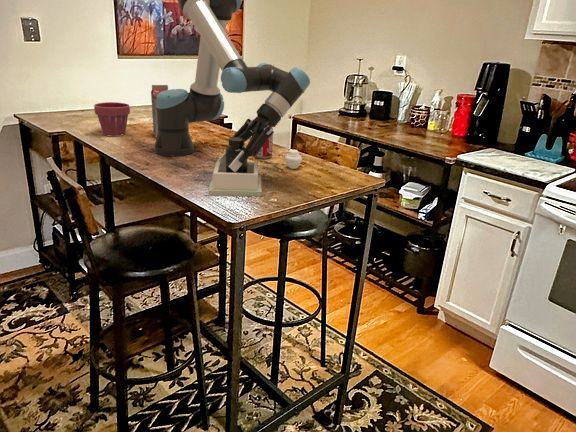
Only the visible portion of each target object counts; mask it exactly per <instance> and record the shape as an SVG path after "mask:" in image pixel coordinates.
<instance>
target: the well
mask: <svg viewBox="0 0 576 432" xmlns="http://www.w3.org/2000/svg"><path fill="white" fill-rule="evenodd" d="M258 164H259V162H258V161H247V173H226V165H225V166H224V165H222V164H221V163H220V162H219V161H218V160H216V163H215V165H214V169H213V172H212V177H211V181H210V185H209V189H208V196H228V197H230V196H231V197H232V196H234V197H235V196H236V197H262V195H263V194H262V190H263V189H262V175H258V174H259V169H258V168H259V167H258V166H259V165H258Z"/></svg>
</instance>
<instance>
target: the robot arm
mask: <svg viewBox="0 0 576 432" xmlns="http://www.w3.org/2000/svg"><path fill="white" fill-rule="evenodd" d="M177 3H178V6H179V8H180V11H181V12H182V14H183V15H184V17H185V18H186V19H189V20H190V21H191V22H192V24H193V26H194V27H195V29H196V32H197V33H198V34H199V36H200V39H199V44H198V45H199V46H198V47H199V48H198V53H197V55H198V56H197V62H196V70H195V71H196V72H195V81H194V82H193V83H191V84H190V85H189V87H190V88H189V92H188V90H186V89H183V88H171V89H168V90H165V91H162V92H160V93H159V94H158V95H157V100H156V107H157V120H158V135H157V138H156V137H155V142H154V153H155V152H156V154H157V153H158V154H157V155H160V154H161V155H160V156H165V155H166V157H176V156H177V157H181V156H187V155H192V154H193V153H194V151H195V145H194V142H193V139H192V137H191V134H190V131H189V130H190V129H189V128H190V126H189V124H193V123H195V124H196V123H201V122H202V123H203V122H212V121H215V120H218V119H219V118H220V117H221V116H222V114H223V113H224V108H225V101H224V96H223V94H222V93H221V90H220V88H219V86H218V82H219V74H220V70H221V71H222V72H221V75H220V82H221V87H222V88H223V89H224V91H226V92H227V93H229V94H230V93H233V94H241V93H251V92H263V91H265V92H266V91H270V92H271V93H270V95H269V96H268V97H267V98H266V99H265V100H264V103H262V104H261V105H260V106H259V107H258V108H257V110H256V114H257V115H256V117H255V118H253V119H250V118H247V119H246V120H245V122H244V123H243V124H242V125H241V127H240V128H239V129H237V131H235V133H234V134H233V136H231V138H233V137H239V138H243V139H244V143H245V142H247V141H248V139H249V141H248V143H247V145H246V146H245V148H244V149H243V150H244V151H245V152H244V151H241V152H240V153H239V155H238V156H237V157H236V158H235V159H234V161H233V162H232V163H231V164H230V165H229V168H231V169H232V170H233V171H234V172H236V171H237V170H238V169H239V167H240V166H241V165H242V164H243V163H244V162H245V161H246V159H247V158H249V157H251V156H253V157H255V156H256V154H257V153H258V152H259V150H260V149H261V148H262V146H263V145H264V143H265V142H266V141H267V139H268V138H269V137H270V136H271V135H272V134H273V135H274V133H275V131H274V130H272V129H271V127H272V128H275V127H276V126H277V125H278V124H279V123H280V122H281V120H282V118H283V117H284V116H285V115H286V114H288V112H289V110H290V109H291V108H292V106H293V105H295V103H296V102H297V100H298V99H299V98H300V97H301V96H302V95H303V94H305V91H306V90H307V88H308V87H309V86H310V84H311V78H310V77H309V75H308V74H307V73H306V71H304V70H303V69H302V68H300V67H297V66H294V67H292V68H291V69H290V70H289V71H285V70H283V69H280V68H279V67H276V66H275V65H272V63H271V64H269V63H266V62H262V63H259V64H258V65H256V66H247V64H246V62H245V61H244V59H243V57H242V56H241V54H240V53H239V52H238V50H237V48H236V47H235V45H234V44H233V42H232V40H231V39H230V37H229V36H228V34H227V32H226V29H227V24H228V23H229V22H231V21H232V17H233V14H235V13H236V12H238V11H239V10H240V8H241V4H242V0H177ZM254 150H255V151H254ZM247 160H248V159H247ZM217 161H219V162H220V163H221V164H222V165H224V166H225V165H226V150H225V151H224V152H223V153H222V155H221V156H220V157H219V158H218V160H217Z"/></svg>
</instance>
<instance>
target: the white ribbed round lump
mask: <svg viewBox="0 0 576 432" xmlns="http://www.w3.org/2000/svg"><path fill="white" fill-rule="evenodd" d="M284 158H285V162H286V165H287V167H288V169H291V170H295V169H296V170H297V169H298V168H299V167H300V164H301V163H302V161H303V158H302V156H301V155H300V152H299V151H298V150H297V149H290V150H289V151H288V153H287V155H286V156H285V157H284Z"/></svg>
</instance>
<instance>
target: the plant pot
mask: <svg viewBox="0 0 576 432" xmlns="http://www.w3.org/2000/svg"><path fill="white" fill-rule="evenodd" d="M93 108H94V114H95V115H96V116H97V119H98V121H99V125H100V127H101V130H102V134H103V135H104V134H105V135H104V136H106V135H121V134H125V135H126V132H127V124H128V116H129V115H130V113H131V108H130V104H128V103H124V102H114V101H113V102H112V101H110V102H107V101H106V102H98V103H95V104H94V105H93Z"/></svg>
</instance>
